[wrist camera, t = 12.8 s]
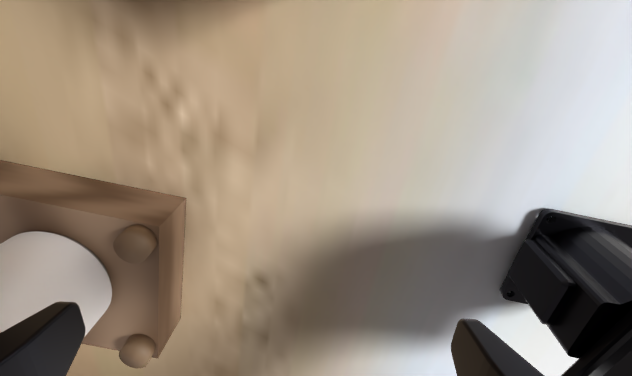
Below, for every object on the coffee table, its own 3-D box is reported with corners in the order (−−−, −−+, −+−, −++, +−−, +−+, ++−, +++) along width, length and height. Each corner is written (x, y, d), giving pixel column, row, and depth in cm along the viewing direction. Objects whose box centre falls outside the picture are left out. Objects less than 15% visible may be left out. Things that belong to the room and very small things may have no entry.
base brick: (186, 198, 22) (149, 236, 18) (180, 318, 26) (149, 372, 22) (-7, 158, 21) (-90, 188, 17) (18, 286, 26) (-44, 334, 21)
